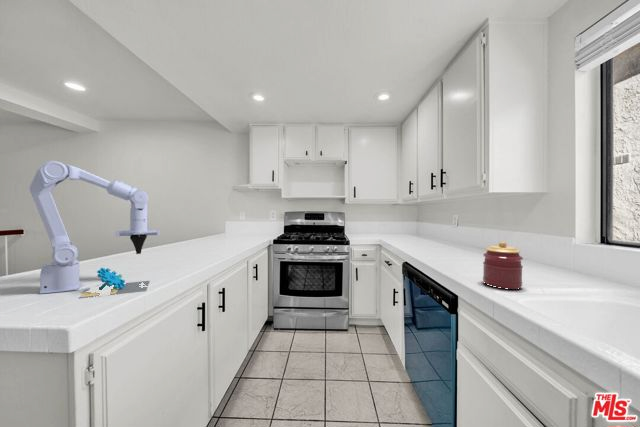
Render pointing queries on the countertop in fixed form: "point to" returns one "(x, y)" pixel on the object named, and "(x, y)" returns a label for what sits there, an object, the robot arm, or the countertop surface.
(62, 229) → the robot arm
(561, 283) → the countertop surface
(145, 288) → the mat
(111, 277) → the gear
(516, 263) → the canister
